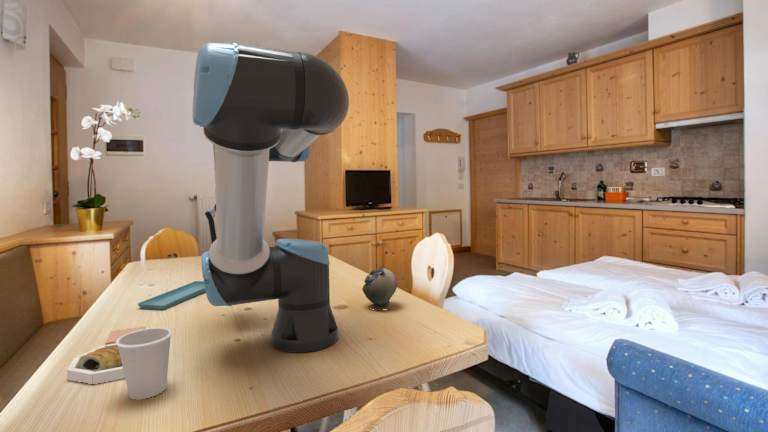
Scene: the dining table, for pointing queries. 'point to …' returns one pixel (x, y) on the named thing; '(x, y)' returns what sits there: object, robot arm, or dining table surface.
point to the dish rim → (93, 376)
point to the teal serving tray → (174, 296)
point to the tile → (120, 334)
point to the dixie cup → (145, 361)
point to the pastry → (101, 359)
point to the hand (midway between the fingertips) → (234, 272)
